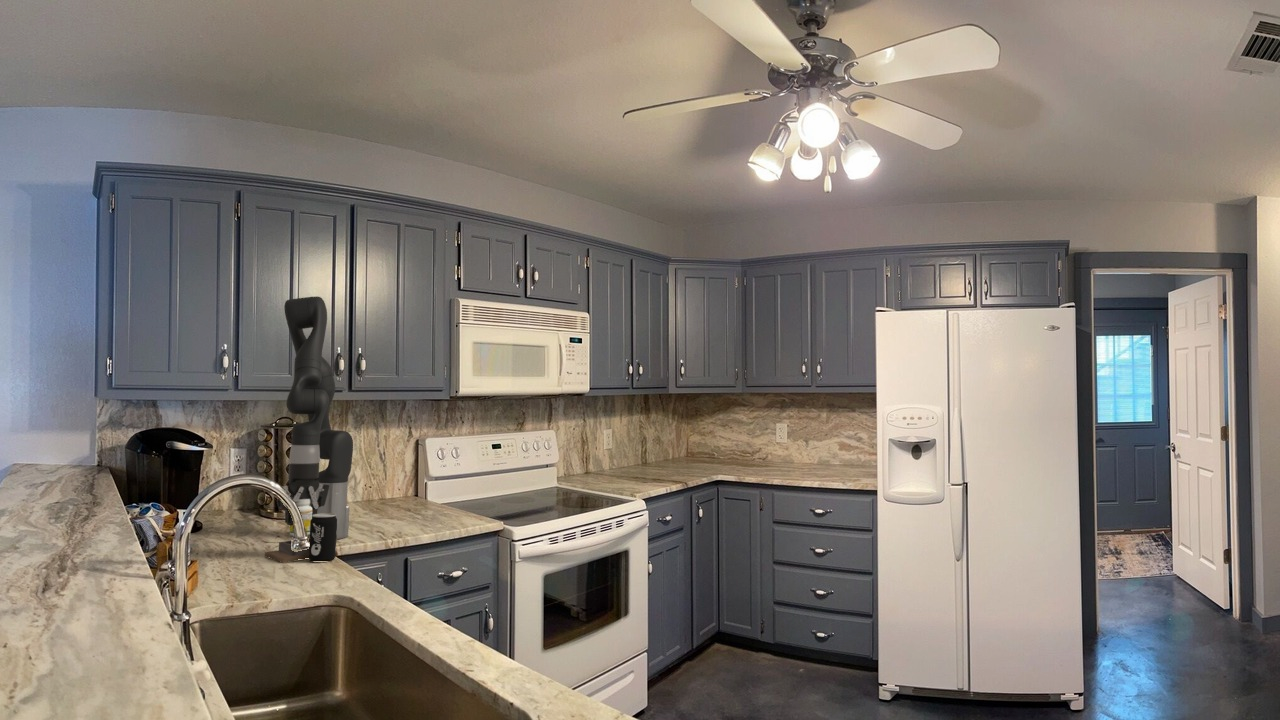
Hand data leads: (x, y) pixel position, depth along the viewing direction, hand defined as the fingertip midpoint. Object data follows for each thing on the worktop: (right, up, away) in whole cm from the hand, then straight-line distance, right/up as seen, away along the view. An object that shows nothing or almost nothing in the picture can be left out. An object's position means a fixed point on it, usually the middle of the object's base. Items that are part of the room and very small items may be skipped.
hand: (300, 523), depth 192 cm
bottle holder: (0, -9, -1) cm, 9 cm away
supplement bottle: (0, -3, 0) cm, 3 cm away
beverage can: (+8, -9, -6) cm, 13 cm away
